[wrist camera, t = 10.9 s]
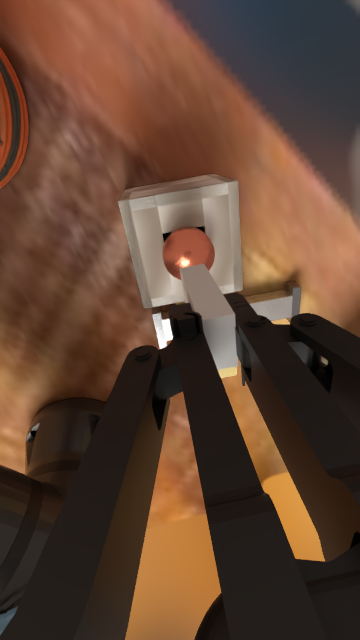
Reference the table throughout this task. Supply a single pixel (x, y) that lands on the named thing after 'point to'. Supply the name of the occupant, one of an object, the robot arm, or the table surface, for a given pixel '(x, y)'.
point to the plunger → (187, 250)
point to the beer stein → (11, 122)
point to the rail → (263, 304)
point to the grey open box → (175, 212)
